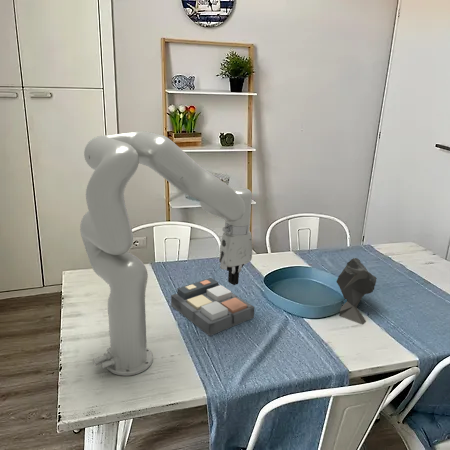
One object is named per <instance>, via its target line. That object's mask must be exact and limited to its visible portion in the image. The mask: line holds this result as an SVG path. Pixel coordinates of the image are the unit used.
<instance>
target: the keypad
mask: <svg viewBox="0 0 450 450" xmlns="http://www.w3.org/2000/svg"><path fill="white" fill-rule="evenodd" d="M219 285H220V284H219V281H217V280H215V279H214V278H212V277H209V278H206V279H205V278H204V279H202V280H200V281H196V282H193V283H190V284H186V285H184V286H180V287H178V288H177V290H176V291H177V293H174V294H171V296H170V297H171V298H170V299H171V300H170V302H171V303H170V306H171V307H172V308H173V309H175V310H176V311H177V312H178V313H180V314H181V315H182V316H184V317H185V318H186V319H187V320H189V321H190V322H191V323H193V324H194V325H195V326H197V328H199V329H200V330H201V331H202V332H204V334H206V335H208V337H211V336H213V335H215V334H218V333H220V332H223V331H226V330H227V329H230V328H232V327H235V326H238V325H240V324H242V323H245V322H247V321H249V320H250V321H251V320H252V319H254V317H255V306H253V305H252V304H251V303H249V302H247V301H245V300H244V299H243V298H241V297H239V296H238V295H236V294H235V293H233V292H232V297H231V298H230V299H233V298H237V299H239V300H240V301H242V302H243V303H245V304H246V305H247V308H245V309H243V310H240V311H238V312H235V313H233V314H232V313H231V312H230V311H228V315H227V316H225V317H222V318H220V319H217V320H215V321H211V320H209V319H208V318H207V317H205V316H204V315H203V314H201V309H199V310H196V309H195V308H193V307H192V306H191V305H189V304H188V303H187V299H190V298H193V297H196V296H199V295H203V296H205V297H206V298H208V299H209V300H210V301H212V302H215V301H213V300H212V299H210V298H209V297H208V296H207V289H210V288H213V287H216V286H219ZM230 299H227V300H230ZM227 300H224V301H227ZM224 301H221V302H219V303H220V304H221V303H222V302H224Z"/></svg>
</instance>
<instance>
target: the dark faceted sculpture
mask: <svg viewBox="0 0 450 450" xmlns="http://www.w3.org/2000/svg"><path fill="white" fill-rule="evenodd" d="M377 280H378V279H377V277H376V276H375V275H373V274H372V273H371V272H369V271H368V269H367V268H366V266H365V265H364V264H363V263H362V262H361V260H360V259H359V258H357V257H353V258H352V259H351V260H349V261H347V263H346V265H345V266H344V268H343V270H342V271H341V272H340V274H339V275H338V277H337V279H336V283H337V285H338V288H339V289H340V292H341V293H342V296H343V300H344V299H347V302H346V303H345V304H344V305H343V304H342V305H343V306H342V305H341V307H340V310H339V317H341V318H345V319H347V320H349V321H352V322H355V323H358V324H359V325H364V324H365V323H366V322H367V320H366V318H365V317H364V316H363V314H362V313H361V312H360V310H359V308H358V305H359V303H360V302H361V300H362V298H363V297H364V296H365V295H368V294H371V293H373V292H374V290H375V286H376V283H377Z"/></svg>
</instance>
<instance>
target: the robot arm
mask: <svg viewBox="0 0 450 450" xmlns="http://www.w3.org/2000/svg"><path fill="white" fill-rule="evenodd" d="M83 154H84V155H83V156H84V160H85V162H86V164H87V165H88V167H90V168H91V169H92V170H94V171H93V172H92V174H91V177H90V179H89V180H88V183H87V185H86V189H85V200H86V205H87V209H88V211H87V212H85V214H84V215H83V216H82V218H81V222H80V226H79V227H80V229H79V231H80V236H81V239H82V242H83V246H84V249H85V252H86V255H87V258H88V261H89V264H90V266H91V268H92V270H93V272H94V273H95V275H97V276H98V277H100V278H101V279H102V281H104V282H105V283H106V284H107V285H109V290H110V291H109V296H108V300H107V314H108V316H107V317H108V329H109V330H108V332H109V343H110V347H108V348H106V352H105V353H103V355H100V356H98V357H95V358H93V359H92V362H93V364H94V367H97V366H99V365H101V367H102V369H105V368H106V369H107V370H108V371H109V372H110V373H112V374H114V375H118V376H125V377H127V376H134V375H137V374H138V375H139V374H140V373H142V372H144V371H146V370H147V369H148V368H150V366H151V365H152V363H153V360H154V359H153V352H152V350H151V349H149V348H148V347H147V345H148V344H147V324H146V323H147V321H146V320H147V319H146V290H147V289H146V288H147V284H148V280H149V279H148V278H149V276H148V275H149V274H148V270H147V269H148V268H147V267H146V265H145V264H144V262H143V261H142V260H141V259H140V258H138V256H136V255H134V254H133V253H132V252H130V250H131V248H132V245H133V243H134V234H133V229H132V226H131V225H132V224H131V221H130V218H129V214H128V210H127V205H126V201H125V190H126V187H127V185H128V183H129V182H130V180H131V179H132V177H133V176H134V175H135V174H136V172H137V170H138V168H139V164H140V165H143V166H146V167H149V168H150V169H152V170H153V171H154V172H155V173H157V174H158V175H159V176H161V177H162V178H164V180H166V181H167V182H168V183H170V184H171V185H172V186H173V187H175V188H176V189H177V190H178V191H180V192H181V193H183V194H184V195H187V196H189V197H191V198H193V199H195V200H197V201H199V205H200V207H201V209H202V210H203V211H204V212H205V213H207V214H209V215H211V216H214V217H217V218H219V219H222V220H223V221H224V227H222V236H221V240H220V245H219V252H218V253H219V254H218V255H219V256H218V261H219V263H220V265H219V268H220V269H221V270H224V271H225V270H226V271H227V272H228V278H227V282H228V283H229V284H231V285H232V286H236V285H239V278H240V277H239V276H240V273H241V271H242V268H243V267H244V266H246V264H248V263H250V262H251V261H252V258H253V256H252V255H253V239H252V238H253V237H252V232H251V231H250V227H251V214H252V204H253V203H252V201H253V193H252V191H251V190H250V189H248V188H247V187H246V188H245V187H236V186H235V187H231V186H229V184H227V183H226V182H224V181H223V180H222V179H220V178H218V177H217V176H216V175H214V174H213V173H211V172H210V171H208V170H207V169H205V168H204V167H202V166H201V165H199V163H198V162H196V161H195V160H194V159H193V158H192V157H190V156H189V155H188V154H187V153H186V152H185V151H184V150H183V149H181V147H180V146H178V144H176V143H175V142H174V141H173V140H171V139H170V138H169V137H168V136H165V135H163V134H158V133H154V132H151V131H144V130H140V131H132V132H131V131H130V132H124V133H114V134H106V135H105V134H104V135H99V136H96V137H94V138H92V139H90V141H88V142H87V144H86V145H85V147H84V151H83Z"/></svg>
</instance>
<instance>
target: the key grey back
mask: <svg viewBox="0 0 450 450" xmlns="http://www.w3.org/2000/svg"><path fill="white" fill-rule="evenodd" d="M232 293H233V292H232V291H231V290H229V288H226V287H225V286H223V285H221V284H219V286H216V287H213V288H210V289H207V296H208V297H209V298H210V299H212V300H213V301H217V302H218V303H219V302H221V301H224V300H227V299H230V298H231V297H232Z"/></svg>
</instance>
